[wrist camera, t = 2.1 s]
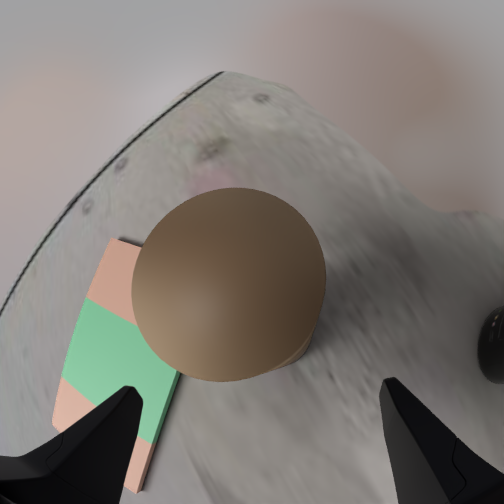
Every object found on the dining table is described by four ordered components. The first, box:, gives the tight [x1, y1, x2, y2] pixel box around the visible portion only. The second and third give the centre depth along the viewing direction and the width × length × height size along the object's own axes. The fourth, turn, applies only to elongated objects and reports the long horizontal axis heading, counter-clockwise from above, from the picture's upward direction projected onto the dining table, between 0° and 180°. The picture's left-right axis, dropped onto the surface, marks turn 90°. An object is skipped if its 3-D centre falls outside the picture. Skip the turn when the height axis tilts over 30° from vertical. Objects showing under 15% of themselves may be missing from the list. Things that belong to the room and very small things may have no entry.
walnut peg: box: [131, 188, 326, 382], centre depth 13 cm, size 5×5×14 cm
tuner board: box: [52, 238, 181, 494], centre depth 20 cm, size 22×12×1 cm, turn 161°
